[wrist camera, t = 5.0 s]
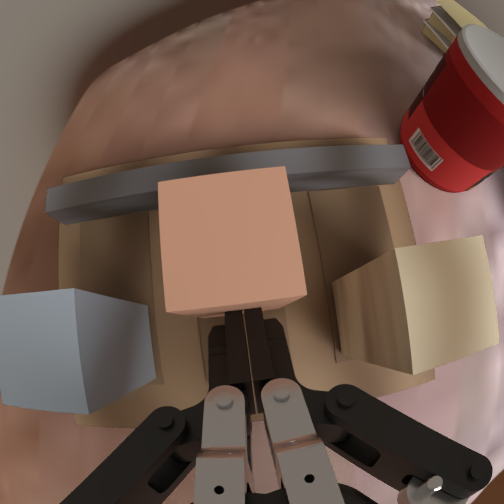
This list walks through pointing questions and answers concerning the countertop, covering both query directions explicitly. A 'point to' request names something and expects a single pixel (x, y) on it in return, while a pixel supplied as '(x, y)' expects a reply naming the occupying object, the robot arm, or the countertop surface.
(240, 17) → the countertop surface
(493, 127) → the canned food
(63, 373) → the slate key
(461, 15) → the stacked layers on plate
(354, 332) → the maple key
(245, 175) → the salmon orange block
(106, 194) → the wooden board with bar
